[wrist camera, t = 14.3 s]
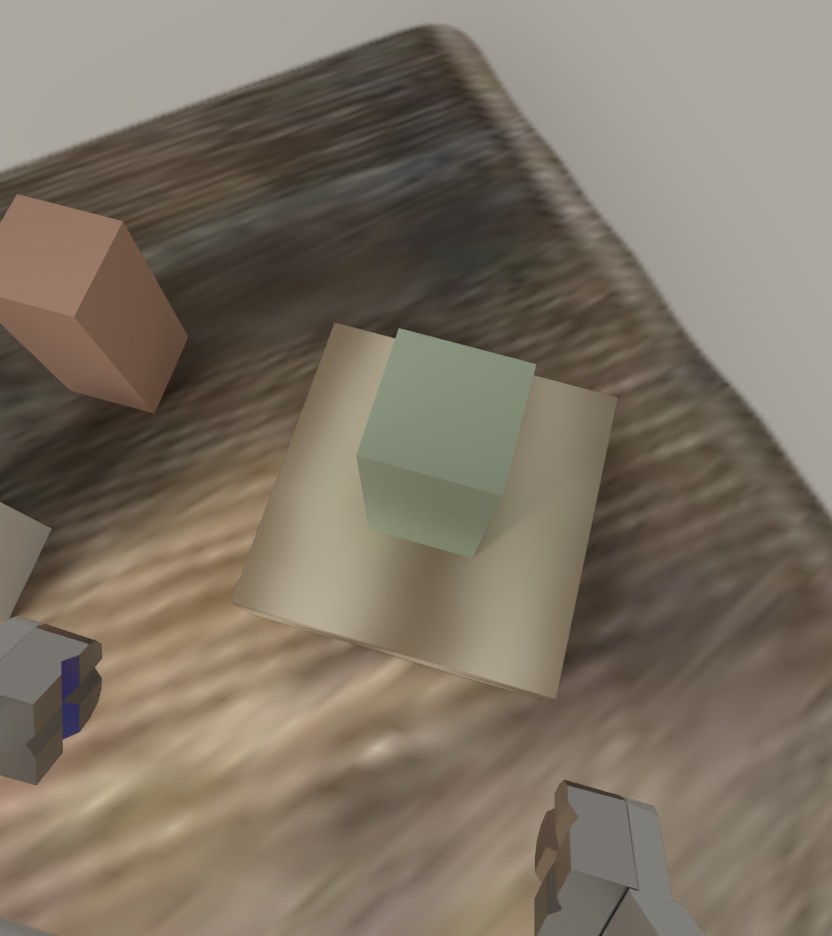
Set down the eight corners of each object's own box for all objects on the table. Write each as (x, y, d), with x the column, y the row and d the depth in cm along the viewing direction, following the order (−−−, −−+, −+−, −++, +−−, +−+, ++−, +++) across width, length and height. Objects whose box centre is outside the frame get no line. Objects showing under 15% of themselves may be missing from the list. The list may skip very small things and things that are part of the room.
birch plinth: (247, 612, 28) (230, 602, 25) (340, 357, 31) (334, 322, 29) (539, 699, 27) (556, 698, 24) (597, 426, 31) (617, 397, 28)
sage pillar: (368, 528, 26) (356, 455, 18) (398, 433, 27) (398, 328, 19) (472, 558, 25) (502, 496, 18) (497, 460, 27) (536, 364, 19)
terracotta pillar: (70, 390, 31) (-38, 287, 23) (107, 315, 32) (17, 194, 24) (154, 413, 30) (73, 317, 23) (188, 337, 32) (123, 221, 24)
